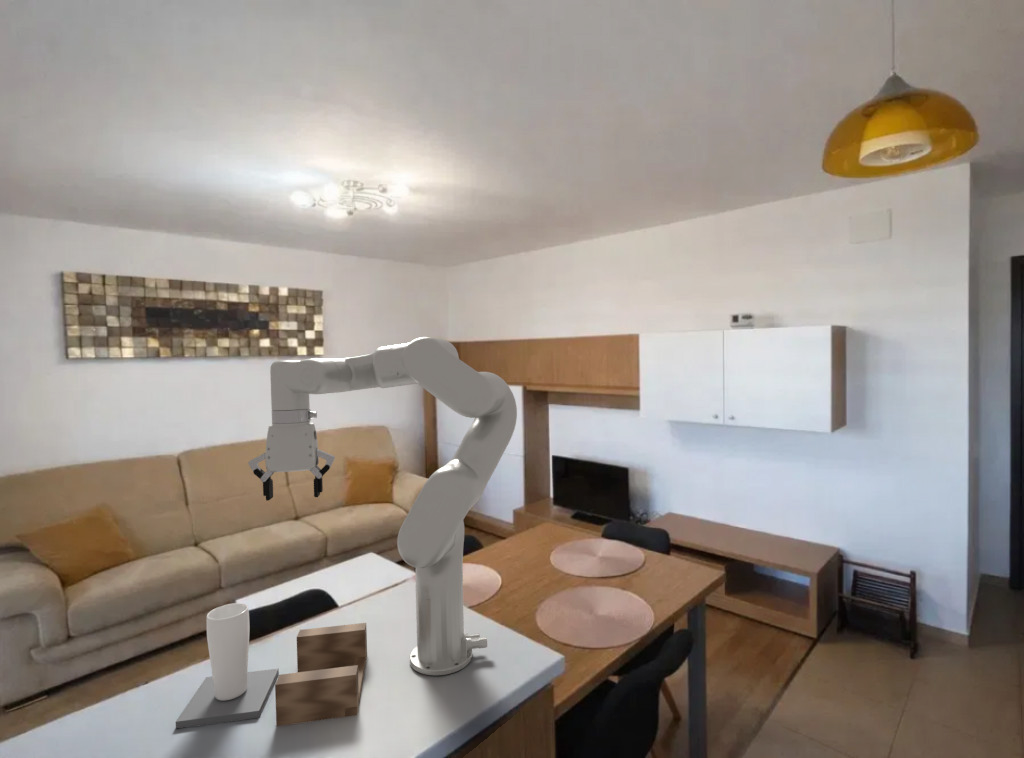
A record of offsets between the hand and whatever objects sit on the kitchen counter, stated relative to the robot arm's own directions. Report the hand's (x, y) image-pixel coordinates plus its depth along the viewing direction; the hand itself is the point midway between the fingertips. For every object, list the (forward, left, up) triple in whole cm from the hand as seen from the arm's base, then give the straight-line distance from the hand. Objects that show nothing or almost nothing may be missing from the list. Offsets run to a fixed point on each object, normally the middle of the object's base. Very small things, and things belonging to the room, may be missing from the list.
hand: (293, 497), depth 112 cm
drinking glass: (+8, +17, -31) cm, 36 cm away
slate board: (+8, +17, -32) cm, 37 cm away
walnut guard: (-9, +17, -32) cm, 37 cm away
